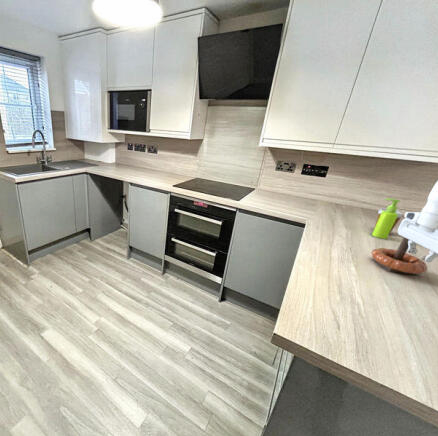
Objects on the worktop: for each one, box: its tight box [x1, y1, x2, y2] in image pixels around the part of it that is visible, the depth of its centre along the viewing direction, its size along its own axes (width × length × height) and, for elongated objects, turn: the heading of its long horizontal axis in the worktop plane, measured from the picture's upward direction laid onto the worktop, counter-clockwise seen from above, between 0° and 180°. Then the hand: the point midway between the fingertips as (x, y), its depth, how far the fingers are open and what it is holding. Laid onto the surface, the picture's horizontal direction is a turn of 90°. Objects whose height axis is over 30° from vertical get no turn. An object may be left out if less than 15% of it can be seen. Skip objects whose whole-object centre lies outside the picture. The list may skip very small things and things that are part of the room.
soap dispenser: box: [371, 198, 401, 240], centre depth 119 cm, size 6×7×20 cm
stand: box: [372, 237, 418, 276], centre depth 91 cm, size 9×9×14 cm
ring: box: [371, 247, 428, 275], centre depth 92 cm, size 15×15×4 cm
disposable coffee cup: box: [374, 208, 404, 235], centre depth 127 cm, size 10×10×12 cm
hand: (418, 256), depth 85 cm, fingers open, 5 cm apart
